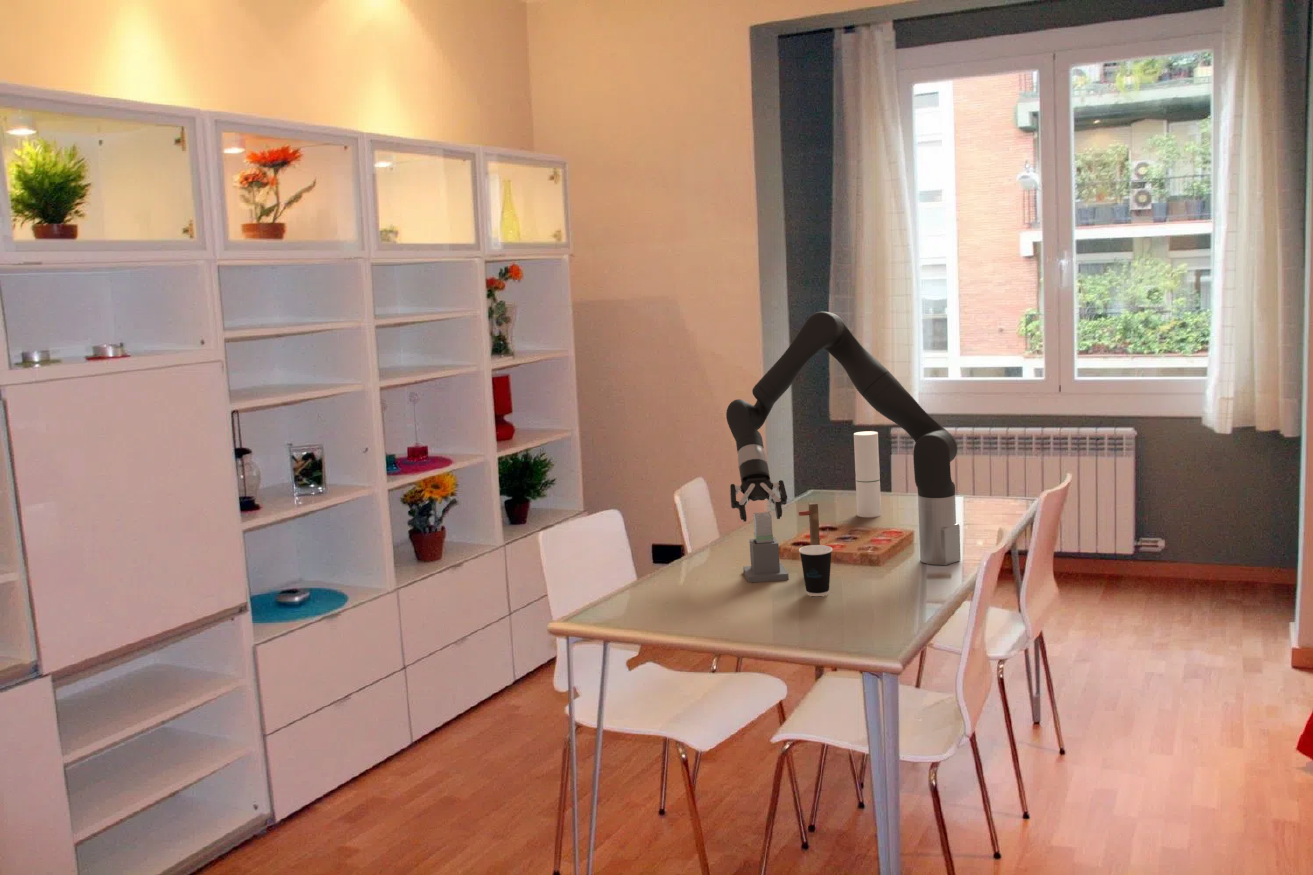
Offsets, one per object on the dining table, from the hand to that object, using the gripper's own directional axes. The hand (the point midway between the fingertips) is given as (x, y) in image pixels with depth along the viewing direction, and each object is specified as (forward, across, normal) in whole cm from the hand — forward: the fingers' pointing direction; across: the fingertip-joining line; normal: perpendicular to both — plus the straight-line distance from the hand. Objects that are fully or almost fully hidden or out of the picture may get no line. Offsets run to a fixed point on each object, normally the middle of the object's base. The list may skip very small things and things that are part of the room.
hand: (762, 518), depth 289 cm
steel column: (+10, 0, +8) cm, 13 cm away
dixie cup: (+24, +10, -4) cm, 27 cm away
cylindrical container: (-29, +40, +50) cm, 70 cm away
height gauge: (+11, +13, +10) cm, 20 cm away
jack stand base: (+11, 0, +10) cm, 15 cm away
